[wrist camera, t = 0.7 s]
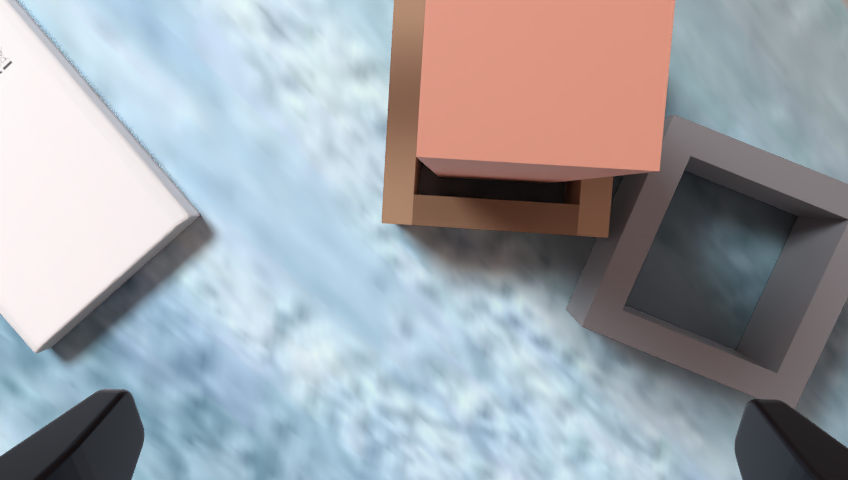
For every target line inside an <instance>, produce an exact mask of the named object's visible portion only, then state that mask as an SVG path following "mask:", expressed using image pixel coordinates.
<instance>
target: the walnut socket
mask: <svg viewBox="0 0 848 480" xmlns="http://www.w3.org/2000/svg"><path fill="white" fill-rule="evenodd" d="M425 1H426V0H394V13H393V30H392V48H391V66H390V83H389V101H388V119H387V136H386V154H385V172H384V189H383V207H382V223H389V224H404V225H420V226H435V227H451V228H466V229H482V230H497V231H513V232H528V233H544V234H559V235H574V236H590V237H605V238H608V233H609V221H610V210H611V198H612V186H613V176H611V177H601V178H592V179H583V180H573V181H565V193H564V203H549V202H533V201H517V200H501V199H485V198H469V197H453V196H437V195H421V194H419V188H420V172H421V161H420V160H419V159H418V158H417V157H416V150H417V133H418V117H419V100H420V84H421V67H422V50H423V34H424V17H425Z"/></svg>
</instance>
